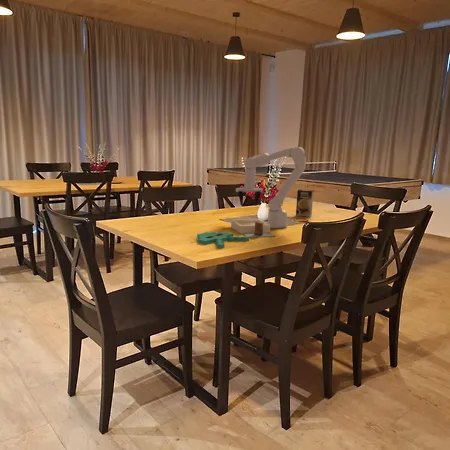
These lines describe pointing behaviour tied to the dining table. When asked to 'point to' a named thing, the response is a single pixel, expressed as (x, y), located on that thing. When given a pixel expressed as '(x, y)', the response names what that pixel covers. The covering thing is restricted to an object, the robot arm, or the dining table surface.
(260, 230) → the walnut cylinder
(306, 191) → the coffee box
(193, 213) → the dining table surface
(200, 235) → the alien figure
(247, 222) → the open box
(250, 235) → the slate mat
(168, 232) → the dining table surface
